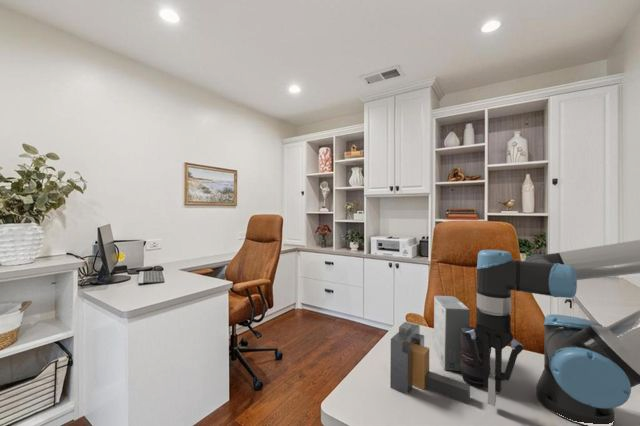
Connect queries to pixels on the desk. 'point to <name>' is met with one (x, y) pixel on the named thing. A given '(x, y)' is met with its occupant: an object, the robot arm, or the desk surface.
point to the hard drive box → (449, 330)
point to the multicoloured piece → (435, 377)
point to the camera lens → (471, 360)
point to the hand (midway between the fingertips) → (491, 402)
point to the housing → (404, 356)
